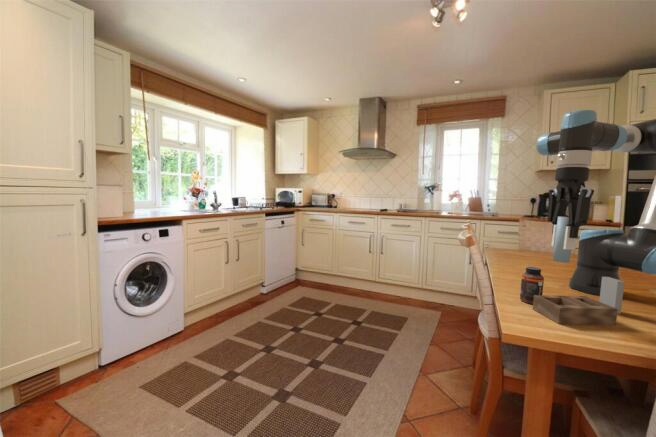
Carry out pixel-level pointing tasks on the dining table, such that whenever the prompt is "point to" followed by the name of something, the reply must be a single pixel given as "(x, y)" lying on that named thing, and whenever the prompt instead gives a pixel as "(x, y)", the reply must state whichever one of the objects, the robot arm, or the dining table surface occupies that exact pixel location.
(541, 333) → the dining table surface
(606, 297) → the grey rectangular block
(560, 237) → the dowel bit
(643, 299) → the dining table surface
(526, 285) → the supplement bottle
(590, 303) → the socket block
